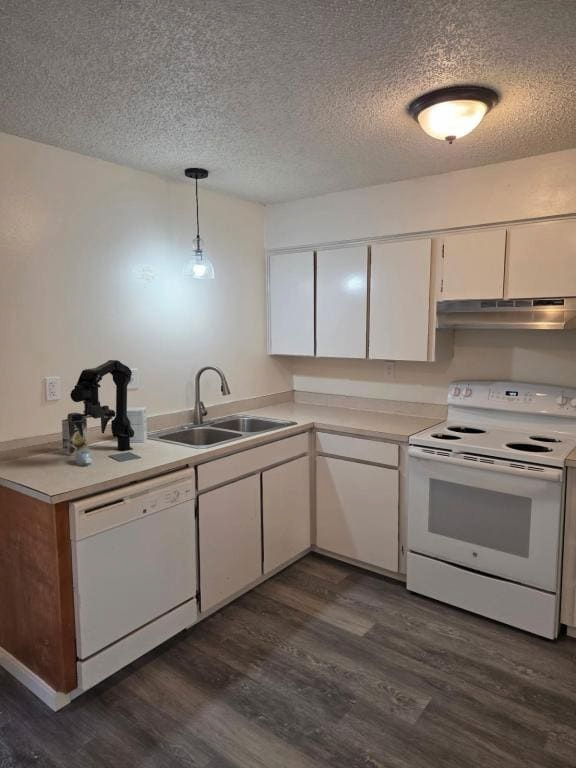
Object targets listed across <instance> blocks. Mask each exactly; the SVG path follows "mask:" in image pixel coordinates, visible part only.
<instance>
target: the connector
mask: <svg viewBox="0 0 576 768" xmlns="http://www.w3.org/2000/svg"><path fill="white" fill-rule="evenodd" d="M91 455H92V454H91V452H90V451H86V450H77V451H75V455H74V458H75V464H76V465H78V466H81V467H88V466H91V465H92V460H93V459H92V456H91Z"/></svg>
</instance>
